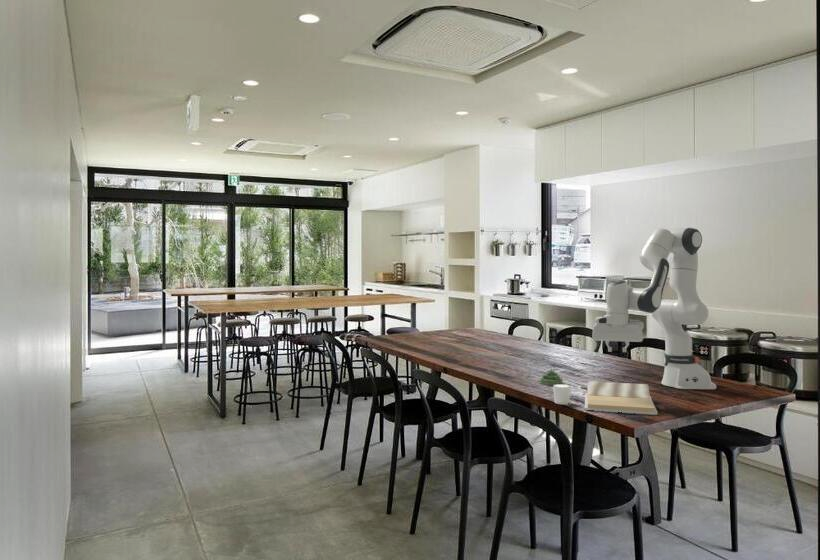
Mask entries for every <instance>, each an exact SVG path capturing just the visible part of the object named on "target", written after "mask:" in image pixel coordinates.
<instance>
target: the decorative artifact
mask: <svg viewBox="0 0 820 560" xmlns="http://www.w3.org/2000/svg"><path fill="white" fill-rule="evenodd" d="M540 384H541V385H542V384H543V385H542V386H547V385H548V386H549V387H553V385H556V384H563V378H562V377H561V376H560V375H559V374H558V373H557V372H555V371H554V370H553V369H552V368H551V369H550V370H548V372H546V373H545V374H542V375H541V377H540ZM548 386H547V387H548Z"/></svg>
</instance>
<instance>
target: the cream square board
mask: <svg viewBox="0 0 820 560" xmlns="http://www.w3.org/2000/svg"><path fill="white" fill-rule="evenodd" d="M587 410H594V411H593V412H602V411H603V412H606V413H618V412H620V413H621V412H622V413H621V414H634V413H635V414H637V415H651V416H652V415H653V416H657V415H658V413H659V412H658V410H657V408H656V406H655V403H654V401H653V399H652V397H651V396H650V399H648V398H630V397H612V396H594V395H588V398H587V392H584V411H587Z"/></svg>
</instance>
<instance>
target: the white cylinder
mask: <svg viewBox="0 0 820 560" xmlns="http://www.w3.org/2000/svg"><path fill="white" fill-rule="evenodd" d="M552 387H553V388H552V389H553V397H554V403H555V404H557V405H569V404H570V396H571V385H569V384H564V383H562V384H556V385H553V386H552ZM568 403H569V404H568Z"/></svg>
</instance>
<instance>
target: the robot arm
mask: <svg viewBox="0 0 820 560" xmlns="http://www.w3.org/2000/svg"><path fill="white" fill-rule="evenodd" d="M702 243H703V236H702V234H701V232H700V230H699V229H697V228H693V227H674V228H669V229H666V228H662V227H661V228H656V229H655V230H654V231H653V232H652V233H651V234H650V235H649V237H648V238H647V239H646V241H645V243H644V244H643V246H642V248H641V250H640V252H639V262H641V265H642V266H643V267H645V269H647V270H649V271H651V272H653V274H652V278H651V280H650V283H649V286H648V287H644V288H642V287H638V288H637V287H633V286H631V285H629V284H628V282H627V281H626V280H623V279H619V280H613V281H610V282H608V284H607V287H606V295H605V296H606V297H605V299H606V300H605V303H606V309H605V312H606V313H605V315H600V316H596V317H595V320H594V321H595V323H594V325H593V327H592V335H591V336H592V338H591V339H592V340H593V341H596V342H602V341H603V342H604V343H605V346H607V352H611V353H612V352H613V350H612V349H613V347H612V346H610V345H609V344H610V342H624V343H625V346H624V347H622V353H627V348H628V347H629V346H630V342H631V343H633V342H635V343H642V342H643V340H644V334H643V329H644V328H645V324H644V321H642V320H640V319H638V318H637V319H633V318H632V319H630V318H629V311H635V312H643V313H648V314H651V317H652V318H653V319H654V320H655V321H656V322H657V323H658V324H659V327H660V328H661V329H662V332H663V335H664V343H665V345H664V346H665V349H664V350H665V352H664V355H663V365H664V370H663V376H662V379H661V384H662V385H663V386H667V387H672V388H675V389H678V390H679V389H680V390H716V389H717V385H716V383H714V381H713V382H712V379H711V375H710V373H709V372H708V371H707V370H706V369H705V368H703V367H702V366H701V365H699V364H698V363H697V362H699V361H700V358H699V356H696V355H694V354H693V339H692V337H691V336H692V335H690V334H689V333H687V332H686V331H685V330H684V328H683V327H682V325H685V326H686V325H687V326H698V325H703V324H705V322H706V321H707V319H708V317H709V309H708V307H707V306H706V304H705V303H703V302H702V301H701V299H700V298H699V295H698V292H697V291H698V290H697V278H698V277H697V276H698V269H699V256H698V250H699V249H700V248H701V246H702ZM670 254H673V257H672V262H671V266H670V263H669V261H668V257H669V255H670ZM669 270H670V272H669ZM669 273H670V275H669ZM668 275H669V281H668V285H669V287H670V289H671V290H673V291H674V292H675V293H676V294H677V299H667V298H665V299H663V298H662V297H663V293H664V289H665V286H666V281H667V279H668Z"/></svg>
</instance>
